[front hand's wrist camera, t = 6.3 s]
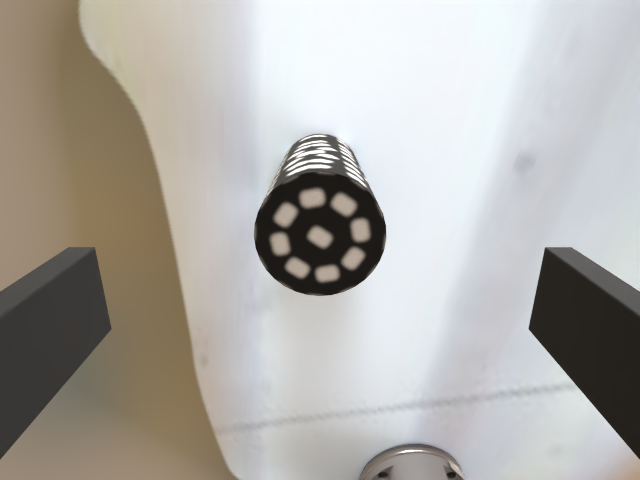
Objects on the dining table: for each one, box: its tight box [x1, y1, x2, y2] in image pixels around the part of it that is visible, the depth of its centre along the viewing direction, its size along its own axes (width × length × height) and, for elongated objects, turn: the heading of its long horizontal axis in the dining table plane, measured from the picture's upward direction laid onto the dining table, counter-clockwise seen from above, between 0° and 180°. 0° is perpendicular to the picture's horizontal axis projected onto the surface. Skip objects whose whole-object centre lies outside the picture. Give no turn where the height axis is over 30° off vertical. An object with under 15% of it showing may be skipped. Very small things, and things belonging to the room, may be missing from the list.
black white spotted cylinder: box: [254, 134, 386, 296], centre depth 36 cm, size 8×8×20 cm
